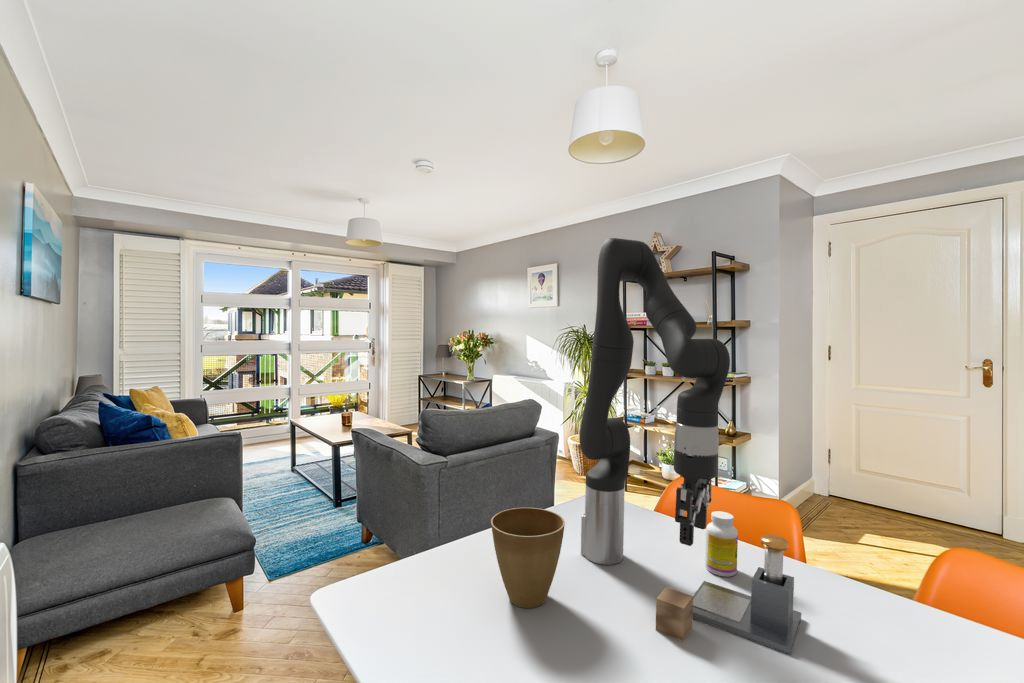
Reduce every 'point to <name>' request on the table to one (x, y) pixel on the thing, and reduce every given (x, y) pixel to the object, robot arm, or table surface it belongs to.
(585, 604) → the table surface
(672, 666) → the table surface
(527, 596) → the plant pot
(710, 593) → the grey assembly fixture
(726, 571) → the supplement bottle
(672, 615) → the block
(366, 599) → the table surface
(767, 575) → the plunger
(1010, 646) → the table surface
